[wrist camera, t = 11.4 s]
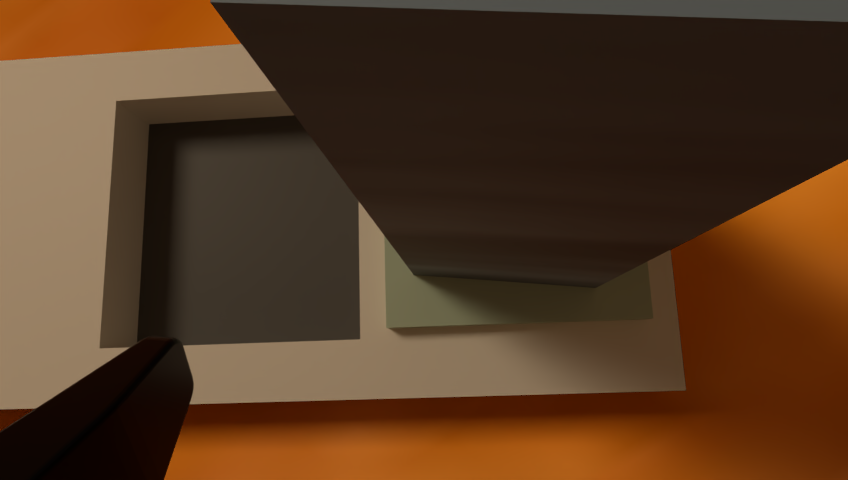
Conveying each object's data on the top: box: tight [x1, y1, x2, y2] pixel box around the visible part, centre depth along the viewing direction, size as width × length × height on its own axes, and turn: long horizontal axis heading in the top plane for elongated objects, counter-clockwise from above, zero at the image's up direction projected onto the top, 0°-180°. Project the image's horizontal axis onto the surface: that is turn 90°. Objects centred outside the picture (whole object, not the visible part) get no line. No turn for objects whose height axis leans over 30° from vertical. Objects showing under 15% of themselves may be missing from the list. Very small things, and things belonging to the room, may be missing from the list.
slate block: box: [210, 0, 848, 288], centre depth 9 cm, size 4×4×12 cm
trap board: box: [0, 44, 686, 409], centre depth 17 cm, size 31×10×2 cm, turn 92°
